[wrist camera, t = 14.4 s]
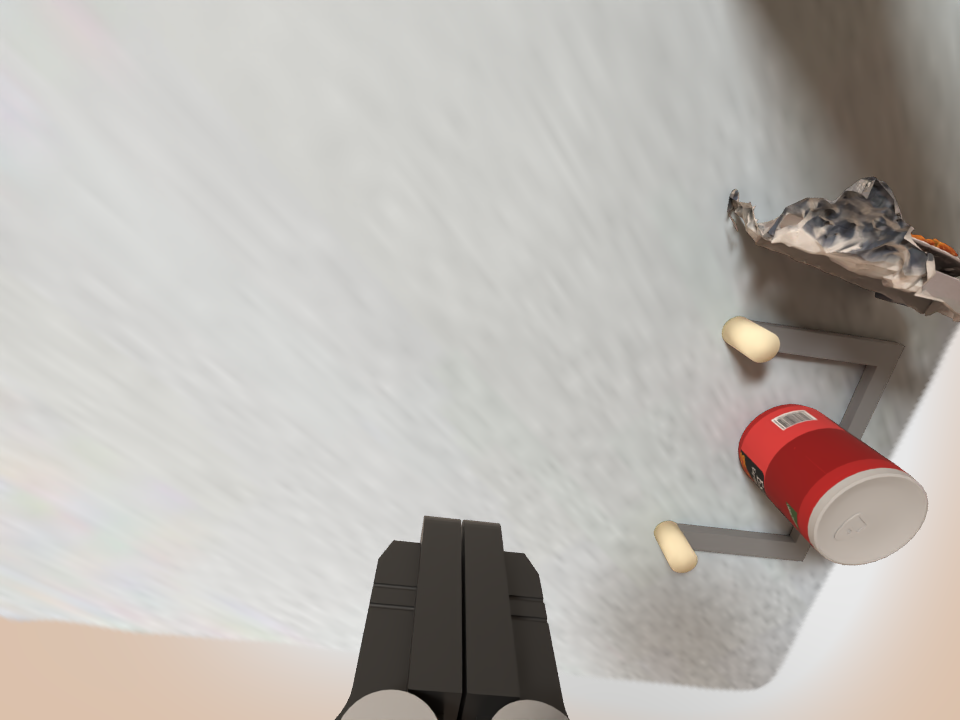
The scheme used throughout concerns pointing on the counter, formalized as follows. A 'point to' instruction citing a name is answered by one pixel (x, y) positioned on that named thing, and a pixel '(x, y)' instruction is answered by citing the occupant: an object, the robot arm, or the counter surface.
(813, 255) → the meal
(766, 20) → the counter surface
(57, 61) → the counter surface
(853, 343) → the frame
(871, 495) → the canned food
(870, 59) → the counter surface
